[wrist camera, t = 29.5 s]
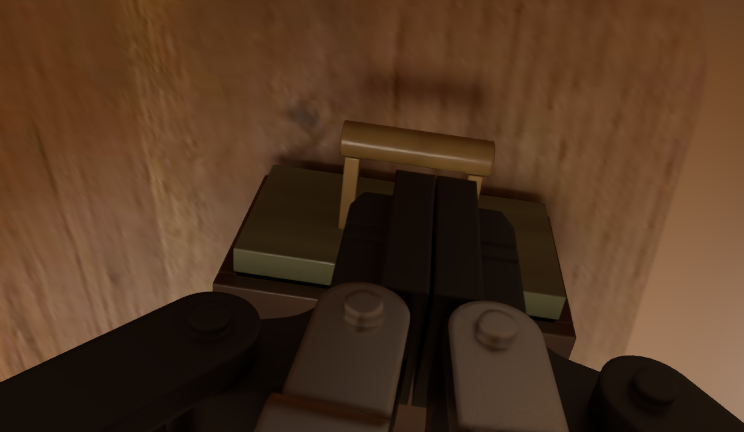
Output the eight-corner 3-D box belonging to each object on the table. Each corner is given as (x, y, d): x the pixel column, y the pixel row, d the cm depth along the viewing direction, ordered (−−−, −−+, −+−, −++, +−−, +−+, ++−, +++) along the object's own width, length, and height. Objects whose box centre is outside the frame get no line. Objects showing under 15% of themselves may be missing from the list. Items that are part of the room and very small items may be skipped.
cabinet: (264, 174, 35) (211, 283, 27) (549, 215, 34) (577, 338, 27) (259, 377, 43) (217, 505, 35) (491, 412, 42) (499, 550, 35)
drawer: (276, 68, 31) (232, 138, 25) (572, 110, 30) (602, 191, 24) (266, 362, 41) (233, 464, 34) (489, 396, 40) (496, 505, 34)
